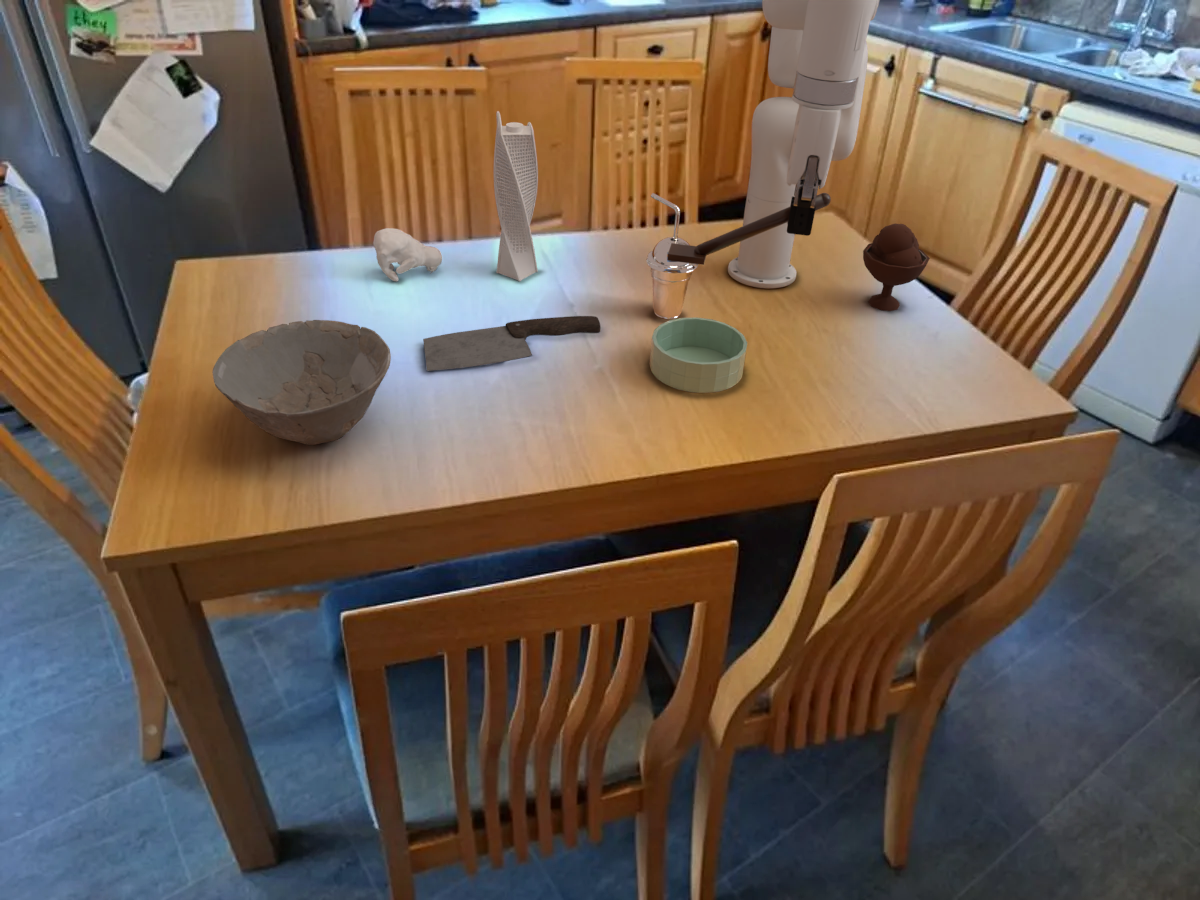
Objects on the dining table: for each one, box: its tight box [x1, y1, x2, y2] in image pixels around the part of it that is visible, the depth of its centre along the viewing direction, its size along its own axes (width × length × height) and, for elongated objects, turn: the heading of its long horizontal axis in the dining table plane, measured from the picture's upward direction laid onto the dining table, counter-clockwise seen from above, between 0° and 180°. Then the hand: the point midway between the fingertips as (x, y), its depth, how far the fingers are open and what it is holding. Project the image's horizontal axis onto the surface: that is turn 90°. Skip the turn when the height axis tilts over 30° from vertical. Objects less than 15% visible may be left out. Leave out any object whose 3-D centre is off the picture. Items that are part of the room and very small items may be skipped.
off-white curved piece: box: [372, 227, 443, 283], centre depth 157 cm, size 6×8×12 cm
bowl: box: [649, 316, 748, 394], centre depth 135 cm, size 14×14×6 cm
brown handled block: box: [667, 192, 832, 266], centre depth 122 cm, size 21×4×11 cm, turn 79°
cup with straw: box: [645, 192, 699, 320], centre depth 145 cm, size 8×9×20 cm
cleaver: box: [422, 315, 601, 372], centre depth 140 cm, size 30×10×2 cm, turn 110°
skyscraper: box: [493, 110, 539, 282], centre depth 154 cm, size 8×8×28 cm
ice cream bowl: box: [862, 223, 930, 312], centre depth 153 cm, size 11×11×15 cm
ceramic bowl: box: [212, 319, 392, 446], centre depth 118 cm, size 22×23×10 cm
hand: (798, 229), depth 121 cm, fingers closed on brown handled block
